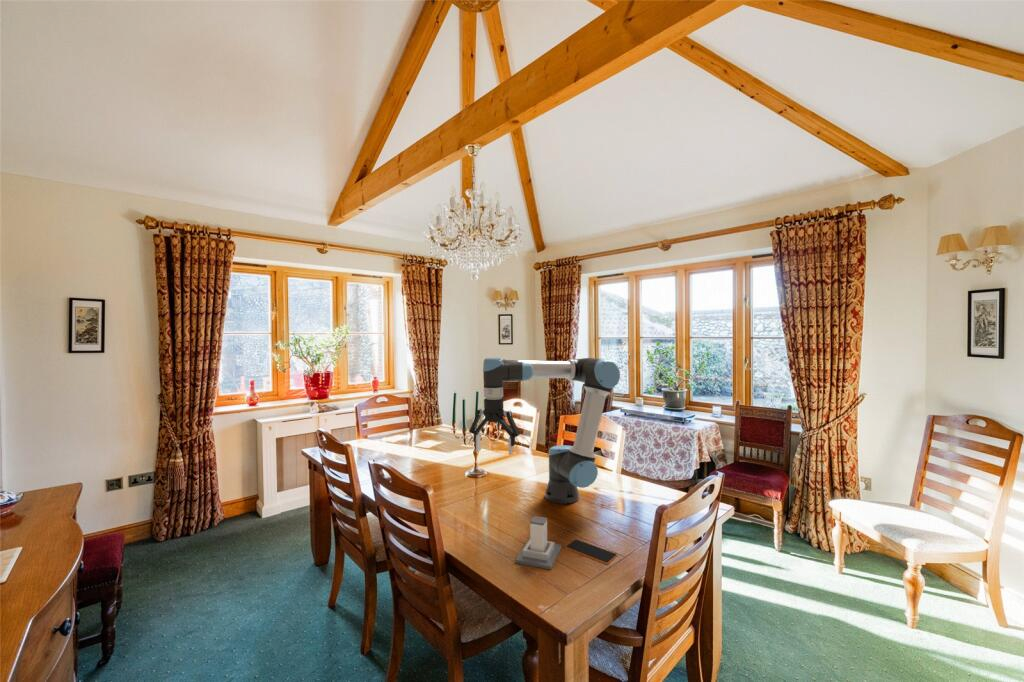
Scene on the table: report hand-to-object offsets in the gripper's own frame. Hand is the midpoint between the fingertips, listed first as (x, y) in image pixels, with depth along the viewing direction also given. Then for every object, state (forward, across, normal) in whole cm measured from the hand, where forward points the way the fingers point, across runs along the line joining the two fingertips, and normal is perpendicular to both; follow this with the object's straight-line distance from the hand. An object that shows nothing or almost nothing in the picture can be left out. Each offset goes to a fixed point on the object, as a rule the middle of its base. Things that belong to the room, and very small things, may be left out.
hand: (494, 452), depth 161 cm
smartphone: (+29, +38, -7) cm, 48 cm away
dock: (+28, +22, -15) cm, 39 cm away
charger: (+28, +22, -15) cm, 38 cm away
